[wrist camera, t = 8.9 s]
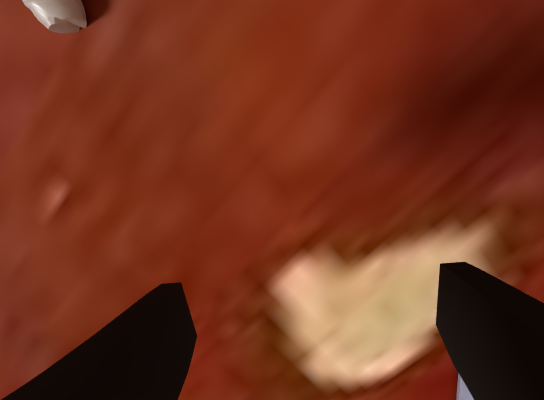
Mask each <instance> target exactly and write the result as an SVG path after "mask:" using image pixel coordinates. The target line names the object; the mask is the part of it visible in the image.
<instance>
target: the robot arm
mask: <svg viewBox="0 0 544 400" xmlns="http://www.w3.org/2000/svg"><path fill="white" fill-rule="evenodd" d="M436 326H437V328H438V331H439V333H440V335H441V338H442V340H443V342H444V345H445V347H446V349H447V351H448V353H449V356H450V358H451V360H452V362H453V364H454V366H455V368H456V369H457V371H458V373H459V375H458V386H457V398H456V400H544V303H542V302H540V301H538V300H537V299H535V298H533V297H531V296H529V295H527V294H525V293H523V292H522V291H520V290H518V289H516V288H514V287H512V286H511V285H509V284H507V283H505V282H503V281H501V280H499V279H498V278H496V277H494V276H492V275H490V274H488V273H486V272H485V271H483V270H481V269H479V268H477V267H475V266H473V265H471V264H468V263H466V262H456V263H442V264H440V273H439V287H438V301H437V316H436ZM196 339H197V334H196V330H195V327H194V324H193V321H192V317H191V314H190V311H189V307H188V304H187V301H186V297H185V294H184V291H183V287H182V284H181V283H167V284H161V285H159V286H158V287H156V288H155V289H153V290H152V291H150V292H149V293H148V294H146V295H145V296H144V297H142V298H141V299H140V300H138V301H137V302H136V303H135V304H133V305H132V306H131V307H129V308H128V309H127V310H126V311H124V312H123V313H122V314H120V315H119V316H118V317H116V318H115V319H114V320H113V321H111V322H110V323H109V324H107V325H106V326H105V327H104V328H102V329H101V330H100V331H98V332H97V333H96V334H94V335H93V336H92V337H90V338H89V339H88V340H86V341H85V342H84V343H82V344H81V345H79V346H78V347H77V348H75V349H74V350H73V351H71V352H70V353H69V354H67V355H66V356H64V357H63V358H62V359H60V360H59V361H58V362H56V363H55V364H53V365H52V366H51V367H49V368H48V369H47V370H45V371H44V372H42V373H41V374H39V375H38V376H36V377H35V378H33V379H32V380H30V381H29V382H28V383H26V384H25V385H23V386H22V387H20V388H19V389H17V390H16V391H14V392H12V393H11V394H9V395H8V396H6V397H5V398H3V399H2V400H178V397H179V395H180V392H181V389H182V387H183V384H184V381H185V379H186V376H187V373H188V370H189V366H190V363H191V359H192V355H193V351H194V347H195V343H196Z"/></svg>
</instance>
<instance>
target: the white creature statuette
mask: <svg viewBox="0 0 544 400" xmlns="http://www.w3.org/2000/svg"><path fill="white" fill-rule="evenodd" d="M22 1H23V3H24V4H25V6H26V7H28V8H29V9H30V10H31V11H32V12H33V14H34V15H35V16H36V18H37V19H38V20H39V21H40V22H41V23H42V24H43V25H44V26H46V27H47V28H48V29H49V30H50V31H52V32H56V33H72V32H78V31H79V29H80V27H82V28H86V25H87V21H86V13H85V9H84V6H83V4H82V1H81V0H22Z"/></svg>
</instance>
